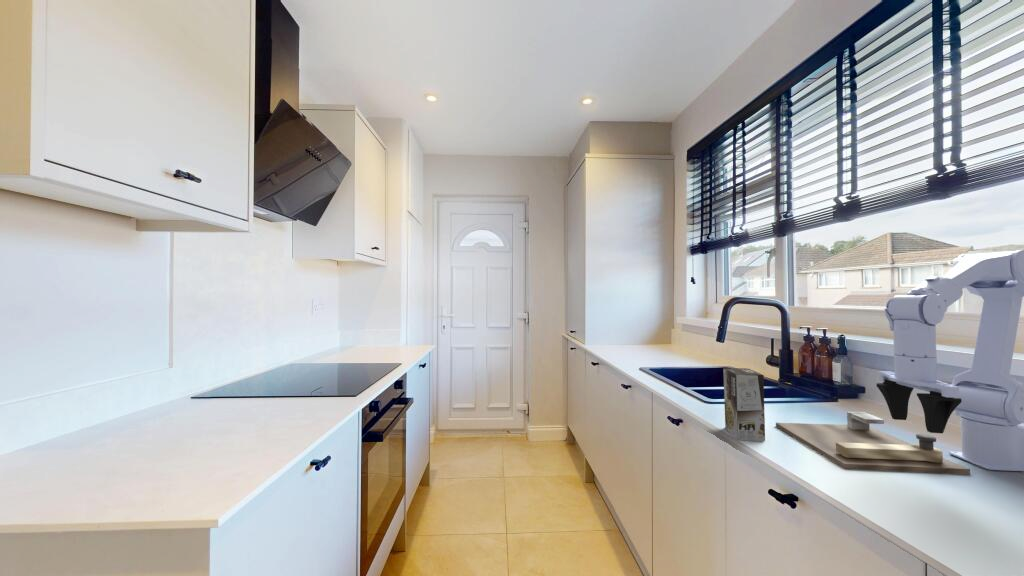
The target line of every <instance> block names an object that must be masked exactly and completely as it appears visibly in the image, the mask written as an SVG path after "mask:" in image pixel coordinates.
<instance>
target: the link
mask: <svg viewBox="0 0 1024 576" xmlns="http://www.w3.org/2000/svg"><path fill="white" fill-rule="evenodd" d="M915 438H916V439H917V440H918V443H911V444H912V445H897V444H869V443H842V442H836V452H838V453H839V454H841V455H843V456H845V457H847V458H872V459H896V460H920V461H929V462H936V463H940V462H943V458H944V456H943V455H944V454H943V453H944V452H943V450H942V449H941V448H938V447H935V446H934V443H936V442H937V437H935V436H934V435H933V436H932V435H929V434H925V433H924V434H922V433H916V434H915Z"/></svg>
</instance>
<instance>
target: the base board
mask: <svg viewBox="0 0 1024 576" xmlns="http://www.w3.org/2000/svg"><path fill="white" fill-rule="evenodd" d="M846 419H847V423H846V424H832V423H831V424H830V423H829V424H828V423H798V422H797V423H796V422H794V423H793V422H775V428H778V429H780V430H781V431H782V432H785V433H786V434H787V435H789V436H791V437H793V438H794V439H795V440H797V441H799V442H800V443H803V444H804V445H806V446H807V447H808V448H810V449H812V450H814V451H815V452H817V453H818V454H820V455H821V456H823V457H825V458H827V459H828V460H830V461H831V462H833V463H835V464H836V465H838V466H839V467H841V468H842V469H846V470H868V471H887V472H889V471H890V472H891V471H892V472H909V473H910V472H913V473H914V472H915V473H929V474H930V473H932V474H933V473H934V474H936V473H937V474H951V475H952V474H955V475H956V474H957V475H971V469H970V468H968V467H966V466H963V465H961V464H959V463H957V462H955V461H951V460H949V459H947V458H945V457H943V462H940V463H936V462H929V461H920V460H896V459H872V458H847V457H845V456H843V455H841V454H839V453H838V452H836V442H842V443H869V444H897V445H912V444H913V443H909V442H907V441H905V440H903V439H899V438H898V437H896V436H893V435H890V434H888V433H886V432H885V431H884V432H883V431H881V430H879V429H877V428H874V427H872V426H870V425H872V424H874V425H875V424H877V425H885V419H883V418H880V417H878V416H875V415H873V414H870V413H868V412H865V411H846Z"/></svg>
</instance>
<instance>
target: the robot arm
mask: <svg viewBox="0 0 1024 576" xmlns="http://www.w3.org/2000/svg"><path fill="white" fill-rule="evenodd" d="M963 289H966V290H967V291H968V292H969V294H972V295H974V296H975V295H976V296H978V297H981V298H982V300H983V302H982V309H981V314H980V318H979V319H980V320H979V324H978V330H977V336H976V341H975V347H974V352H973V358H972V363H971V368H970V369H968V370H965V371H964V372H961V373H958V374H956V375H954V376H953V379H952V383H951V384H949V383H947V382H943V381H940V380H938V370H937V368H938V367H937V364H938V362H937V361H938V360H937V331H936V330H937V328H936V327H937V326H936V325H939V324H940V323H942V321H943V319H944V317H945V313H946V312H948V311H947V310H948V308H949V307H950V306H952V305H953V304H955V303H956V302H957V301H959V300H960V299H961V298H962V296H963V294H964V290H963ZM1023 298H1024V249H1018V250H1014V251H999V252H988V253H975V254H960V255H958V256H957V257H956V258H954V259H953V262H952V268H951V269H950V270H949V271H947V272H946V273H945V274H944V275H942V276H938V275H937V276H928V277H927V278H925V281H923V282H922V283H920V285H919V284H918V286H916V287H913V288H912V289H911V290H910V291H909V292H907V293H906V294H898V295H897V294H896V295H894V296H893V297H891V298H889V299H888V301H887V302H886V305H885V308H884V315H885V317H886V319H887V320H888V325H889V329H890V331H891V332H893V363H894V364H893V365H894V366H893V367H894V371H887V370H886V371H884V370H883V371H882V370H879V372H878V376H879V377H878V380H879V381H882V382H876V387H877V389H878V390H879V391H880V393H881V396H883V398H884V400H885V402H886V405H887V408H888V410H889V413H890V416H891V419H893V420H895V421H896V420H897V421H898V420H900V421H907V418H908V412H909V400H910V398H911V395H912V392H913V391H914V389H917V390H920V391H924V392H925V393H922V392H920V393H919V392H917V393H916V397H917V398H918V399H919V403H920V404H921V407H922V409H923V410H922V411H923V413H924V414H923V415H924V424H925V428H926V431H927V432H928V433H929V434H930V433H931V434H944V432H945V430H946V426H947V424H948V421H949V419H950V417H951V415H952V413H953V412H955V415H956V416H958V417H960V434H961V435H960V437H961V439H960V440H961V451H948V454H950V455H952V456H954V457H956V458H959V459H961V460H964V461H967V462H968V463H971V464H974V465H976V466H978V467H980V468H982V469H985V470H991V471H1007V472H1008V471H1009V472H1010V471H1012V472H1024V384H1023V383H1022V382H1020V381H1018V380H1016V379H1015V378H1014V377H1012V376H1011V375H1010V374H1011V368H1012V362H1013V356H1014V350H1015V345H1016V341H1017V332H1018V326H1019V320H1020V315H1021V308H1022V303H1023ZM926 392H929V393H926Z"/></svg>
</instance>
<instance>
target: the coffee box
mask: <svg viewBox="0 0 1024 576" xmlns="http://www.w3.org/2000/svg"><path fill="white" fill-rule="evenodd" d="M764 377H765V375H764V374H762V373H760V372H757V371H755V370H753V369H750V368H748V367H747V368H743V367H742V368H741V367H739V368H738V367H737V368H736V367H734V368H723V394H724V396H723V398H724V400H723V401H724V423H725V424H724V425H725V426H724V427H725V428H724V429H726V430H727V431H728V432H729V433H730V434H731V435H732V436H733V437H735V439H737V440H738V441H750V442H752V441H753V442H762V441H763V442H765V441H766V419H765V417H766V416H765V384H764V383H765V382H764V379H765V378H764Z"/></svg>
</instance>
